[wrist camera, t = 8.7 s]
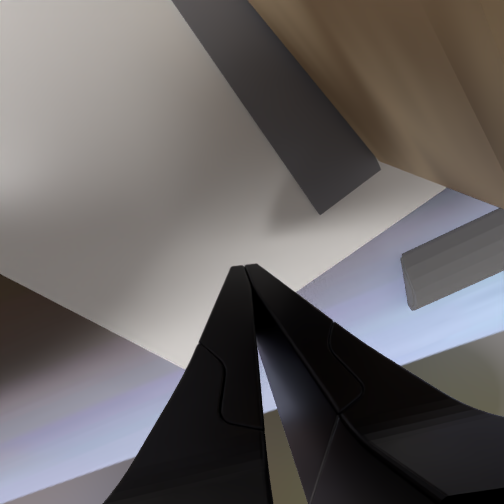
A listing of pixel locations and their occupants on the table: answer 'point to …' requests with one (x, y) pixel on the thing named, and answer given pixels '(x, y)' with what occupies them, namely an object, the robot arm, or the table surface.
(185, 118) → the mat
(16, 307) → the table surface
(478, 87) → the fence fold
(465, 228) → the half round rod
